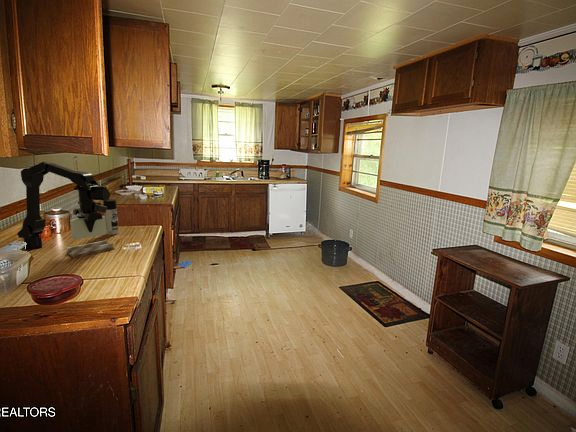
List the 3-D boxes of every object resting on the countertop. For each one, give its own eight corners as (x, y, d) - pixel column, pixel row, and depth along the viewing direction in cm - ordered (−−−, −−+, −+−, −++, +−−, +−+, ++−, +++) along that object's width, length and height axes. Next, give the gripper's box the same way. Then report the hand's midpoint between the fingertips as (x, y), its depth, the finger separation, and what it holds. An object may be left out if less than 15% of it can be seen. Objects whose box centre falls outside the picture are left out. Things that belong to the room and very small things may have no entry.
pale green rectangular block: (74, 239, 147) (72, 221, 145) (71, 238, 149) (69, 219, 147) (106, 234, 158) (105, 216, 156) (103, 232, 160) (102, 215, 158)
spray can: (113, 235, 182) (110, 201, 178) (103, 234, 183) (100, 200, 179) (121, 232, 188) (119, 199, 184) (111, 231, 190) (109, 198, 185)
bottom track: (73, 258, 145) (73, 251, 144) (66, 253, 150) (65, 247, 150) (114, 249, 159) (113, 243, 158) (106, 245, 164) (106, 239, 164)
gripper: (112, 200, 150) (115, 232, 153) (96, 195, 161) (98, 225, 164) (87, 203, 141) (90, 236, 145) (71, 197, 152) (74, 228, 156)
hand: (89, 231), depth 153 cm, fingers closed on pale green rectangular block, 3 cm apart
